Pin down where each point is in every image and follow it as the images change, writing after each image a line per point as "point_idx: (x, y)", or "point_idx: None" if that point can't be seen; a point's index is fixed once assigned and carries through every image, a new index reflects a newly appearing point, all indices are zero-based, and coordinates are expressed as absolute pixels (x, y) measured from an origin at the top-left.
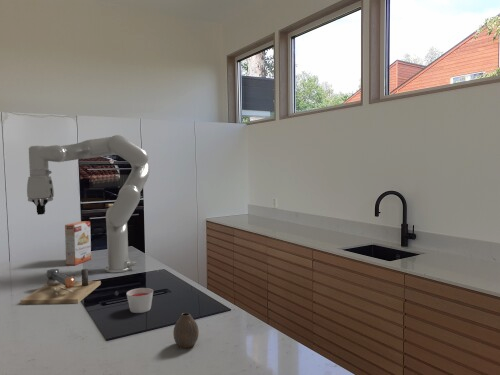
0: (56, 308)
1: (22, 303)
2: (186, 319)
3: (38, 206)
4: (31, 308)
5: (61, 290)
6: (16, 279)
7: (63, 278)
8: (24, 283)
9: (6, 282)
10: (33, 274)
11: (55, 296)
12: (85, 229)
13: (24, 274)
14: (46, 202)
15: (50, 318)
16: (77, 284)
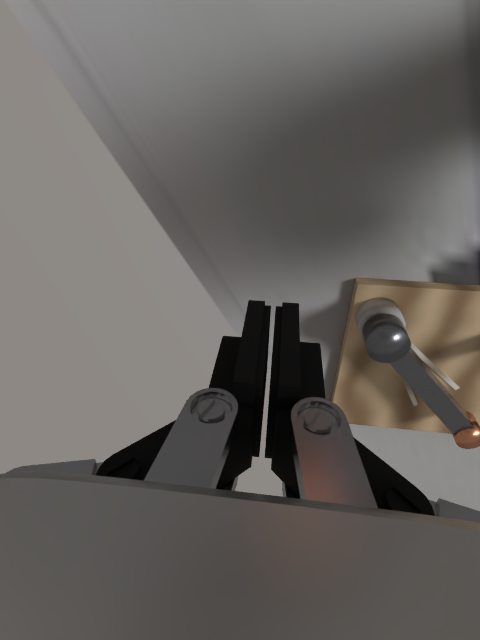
0: (424, 445)
1: None
2: None
3: (252, 453)
4: (365, 437)
5: None
6: (177, 180)
7: (447, 427)
8: (243, 242)
9: (165, 221)
10: (205, 93)
11: (413, 412)
12: None
13: (159, 88)
14: (376, 482)
15: (423, 482)
16: (466, 326)
